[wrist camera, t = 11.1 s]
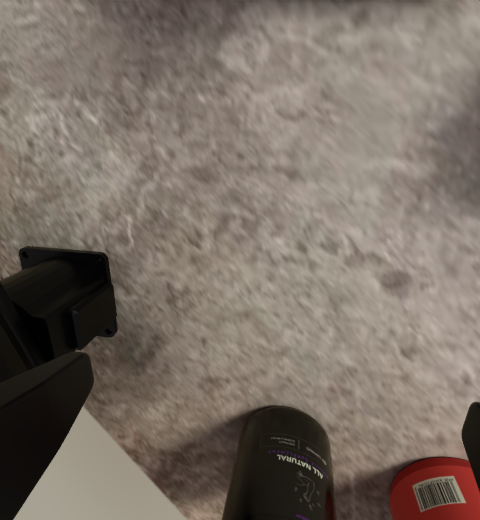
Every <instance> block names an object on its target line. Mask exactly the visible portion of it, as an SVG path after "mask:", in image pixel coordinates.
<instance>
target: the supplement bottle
mask: <svg viewBox="0 0 480 520" xmlns="http://www.w3.org/2000/svg"><path fill="white" fill-rule="evenodd" d="M222 520H337V518H336V506H335V494H334V482H333V470H332V458H331V449H330V442H329V439H328V436H327V434H326V432H325V430H324V429H323V427H322V426H321V425H320V424H319V423H318V422H317V421H316V420H315V419H314V418H312V417H311V416H310V415H308V414H306V413H304V412H302V411H300V410H297V409H294V408H289V407H269V408H265V409H262V410H260V411H258V412H256V413H254V414H253V415H252V416H251V417H250V418H249V419H248V420H247V421H246V423H245V424H244V426H243V428H242V431H241V435H240V439H239V443H238V448H237V452H236V457H235V461H234V466H233V470H232V475H231V479H230V484H229V489H228V493H227V498H226V502H225V507H224V511H223V516H222Z"/></svg>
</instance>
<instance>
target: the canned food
mask: <svg viewBox="0 0 480 520" xmlns="http://www.w3.org/2000/svg"><path fill="white" fill-rule="evenodd" d="M389 504H390V509H391V513H392V517H393V520H480V493H479V490H478V487H477V484H476V481H475V478H474V475H473V471H472V468H471V465H470V462H469V461H466V460H462V459H457V458H447V457H438V458H430V459H425V460H421V461H418V462H416V463H413V464H411V465H409V466H408V467H406V468H404V469H403V470H402V471H401V472H399V473H398V474H397V476H396V477H395V478H394V480H393V482H392V484H391V487H390V502H389Z"/></svg>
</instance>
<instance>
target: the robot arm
mask: <svg viewBox="0 0 480 520" xmlns="http://www.w3.org/2000/svg"><path fill="white" fill-rule="evenodd" d="M27 253H28V255H29V256H28V255H27ZM19 256H20V261H21V265H22V269H23V270H22V271H20V272H18V273H15V274H13V275H11V276H9V277H7V278H5V279H3V280H1V281H0V520H13V519H14V518H15V516H16V515H17V513H18V511H19V510H20V508H21V507H22V505H23V504H24V502H25V501H26V499H27V497H28V496H29V495H30V493H31V492H32V490H33V489H34V487H35V485H36V484H37V482H38V481H39V479H40V478H41V476H42V475H43V473H44V472H45V470H46V469H47V467H48V466H49V464H50V463H51V461H52V459H53V458H54V456H55V455H56V453H57V452H58V450H59V448H60V447H61V445H62V443H63V441H64V440H65V438H66V436H67V434H68V433H69V431H70V429H71V427H72V425H73V423H74V421H75V419H76V418H77V416H78V414H79V412H80V410H81V408H82V406H83V404H84V403H85V401H86V399H87V397H88V395H89V393H90V391H91V389H92V387H93V383H94V377H93V371H92V365H91V360H90V356H89V355H88V354H87V353H82V352H75V351H76V350H82V349H83V348H84V347H85V346H86V345H87V344H88V343H89V342H90V341H91V340H92V339H93V338H94V337H95V336H102V337H113V336H114V335H115V334H116V333H117V322H116V316H117V313H116V305H115V298H114V290H113V285H112V283H111V276H110V268H109V261H108V257H107V256H106V254H104V253H102V252H93V251H80V250H68V249H55V248H43V247H30V246H27V247H24V248H21V249H20V250H19ZM98 258H100V259H101V261H102V262H100V261H99V260H98ZM109 329H110V330H111V331H110V330H109ZM462 441H463V444H464V447H465V450H466V453H467V456H468V459H469V462H470V465H471V468H472V471H473V475H474V478H475V481H476V484H477V487H478V490H479V493H480V402H473V403H472V404H471V405H470V407H469V410H468V413H467V416H466V419H465V422H464V425H463V428H462Z"/></svg>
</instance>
